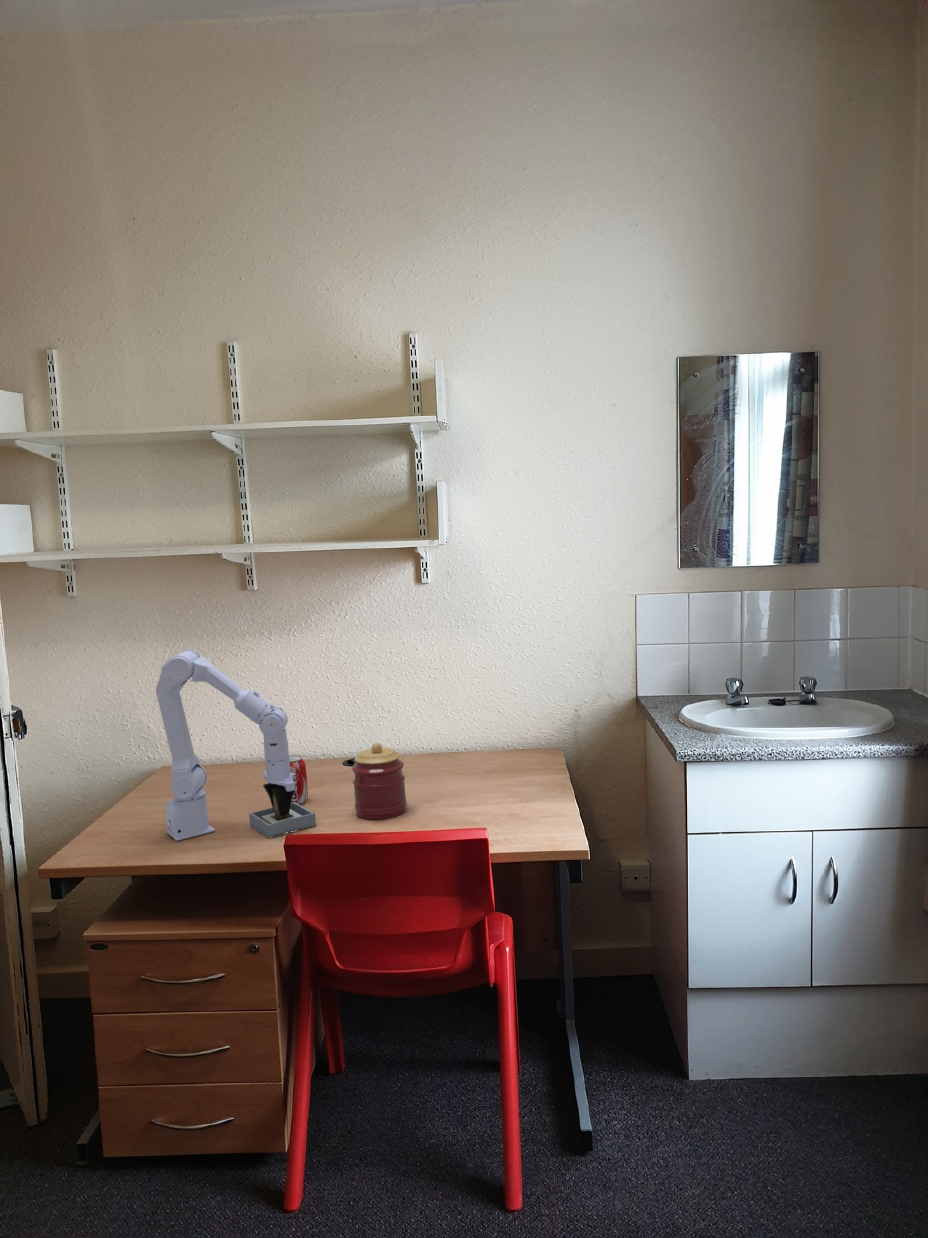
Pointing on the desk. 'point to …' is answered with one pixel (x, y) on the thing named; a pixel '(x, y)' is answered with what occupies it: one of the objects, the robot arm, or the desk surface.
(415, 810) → the desk surface
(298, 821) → the open box
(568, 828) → the desk surface
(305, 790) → the soda can
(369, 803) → the canister
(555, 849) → the desk surface
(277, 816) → the peg
